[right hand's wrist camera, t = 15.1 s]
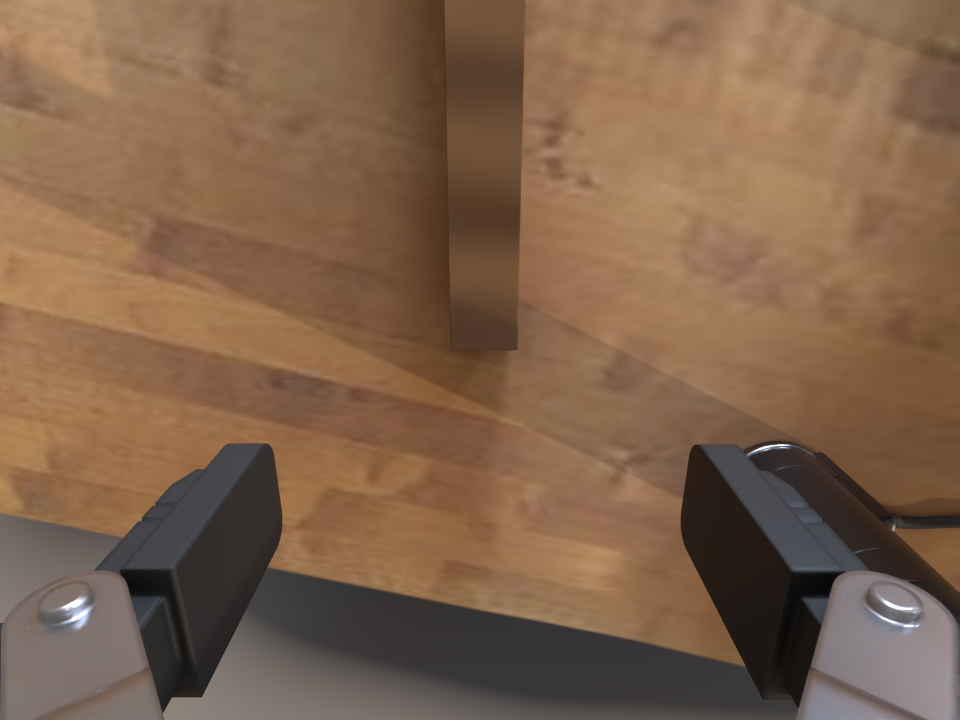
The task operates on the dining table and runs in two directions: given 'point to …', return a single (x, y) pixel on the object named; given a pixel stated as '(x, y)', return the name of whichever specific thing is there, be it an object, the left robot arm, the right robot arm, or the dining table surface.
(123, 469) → the dining table surface
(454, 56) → the beam
